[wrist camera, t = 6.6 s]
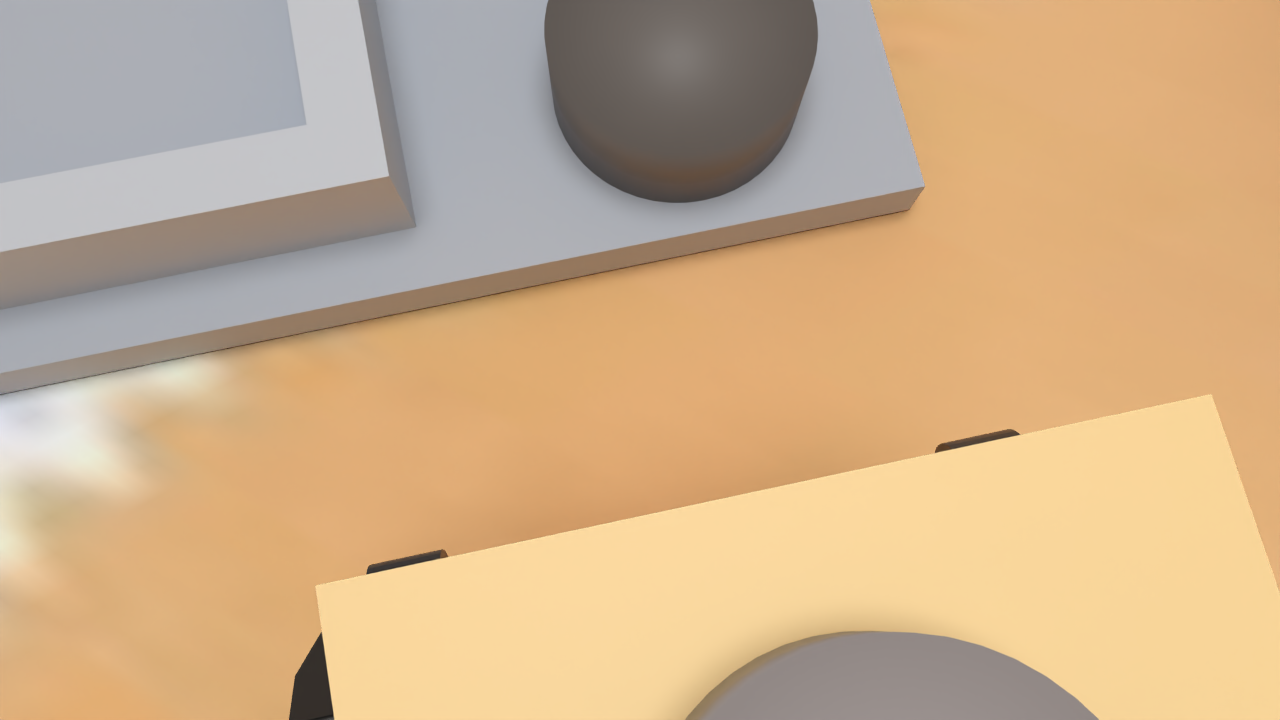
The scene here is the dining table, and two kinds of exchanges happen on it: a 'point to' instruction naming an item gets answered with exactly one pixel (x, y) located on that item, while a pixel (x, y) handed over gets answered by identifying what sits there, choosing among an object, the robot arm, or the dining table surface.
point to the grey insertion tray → (404, 156)
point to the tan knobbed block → (857, 597)
